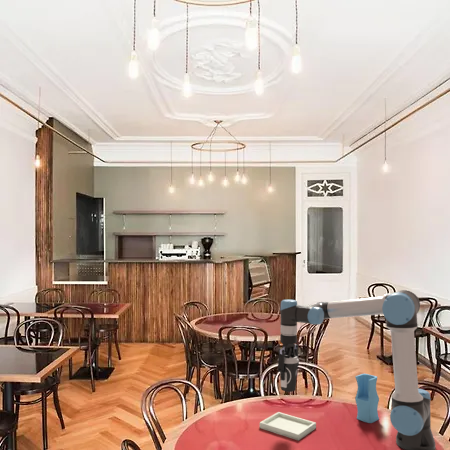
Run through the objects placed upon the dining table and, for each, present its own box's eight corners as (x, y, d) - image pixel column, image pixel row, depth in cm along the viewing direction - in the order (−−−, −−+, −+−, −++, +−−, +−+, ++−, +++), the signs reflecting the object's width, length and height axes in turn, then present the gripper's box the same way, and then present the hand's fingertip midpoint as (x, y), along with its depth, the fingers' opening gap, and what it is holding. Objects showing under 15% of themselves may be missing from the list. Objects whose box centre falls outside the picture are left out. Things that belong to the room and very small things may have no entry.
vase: (355, 418, 215) (355, 376, 215) (364, 414, 220) (364, 373, 221) (370, 423, 209) (370, 380, 209) (379, 419, 214) (378, 376, 215)
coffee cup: (298, 393, 199) (298, 359, 199) (276, 392, 201) (276, 358, 201) (299, 386, 208) (299, 354, 208) (278, 385, 210) (278, 352, 210)
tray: (316, 428, 204) (316, 422, 204) (298, 440, 191) (298, 434, 191) (278, 417, 216) (278, 411, 216) (259, 428, 204) (259, 422, 204)
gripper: (292, 329, 215) (292, 377, 215) (269, 336, 200) (269, 388, 199) (306, 331, 210) (306, 381, 210) (284, 339, 195) (283, 392, 194)
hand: (288, 384), depth 204 cm, fingers closed on coffee cup, 7 cm apart
